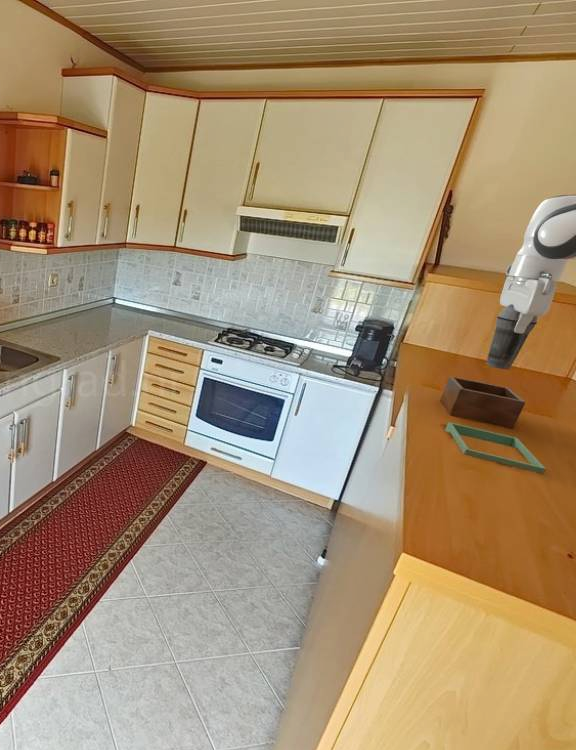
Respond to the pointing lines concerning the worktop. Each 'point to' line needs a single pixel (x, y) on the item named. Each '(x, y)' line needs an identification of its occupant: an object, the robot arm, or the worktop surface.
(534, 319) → the beverage cup
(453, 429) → the green rectangular frame
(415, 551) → the worktop surface
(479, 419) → the brown rectangular open box
